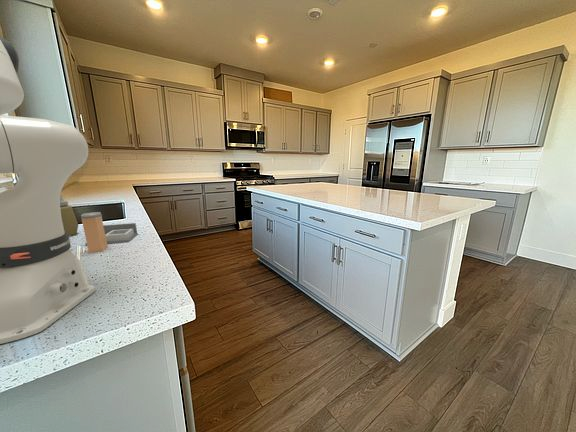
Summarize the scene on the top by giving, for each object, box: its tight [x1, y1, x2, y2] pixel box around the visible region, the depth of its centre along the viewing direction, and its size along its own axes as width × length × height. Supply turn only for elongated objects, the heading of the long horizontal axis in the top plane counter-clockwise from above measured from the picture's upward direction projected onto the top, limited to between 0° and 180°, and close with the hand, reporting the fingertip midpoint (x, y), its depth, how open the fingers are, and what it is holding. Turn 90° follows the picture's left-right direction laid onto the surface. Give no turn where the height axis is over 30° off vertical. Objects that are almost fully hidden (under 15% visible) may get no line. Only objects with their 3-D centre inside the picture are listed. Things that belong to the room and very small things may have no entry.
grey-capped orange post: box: [80, 211, 108, 254], centre depth 82 cm, size 5×5×13 cm
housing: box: [84, 222, 138, 247], centre depth 93 cm, size 10×14×5 cm
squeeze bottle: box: [60, 195, 79, 237], centre depth 99 cm, size 8×8×18 cm
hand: (35, 198), depth 76 cm, fingers open, 8 cm apart
